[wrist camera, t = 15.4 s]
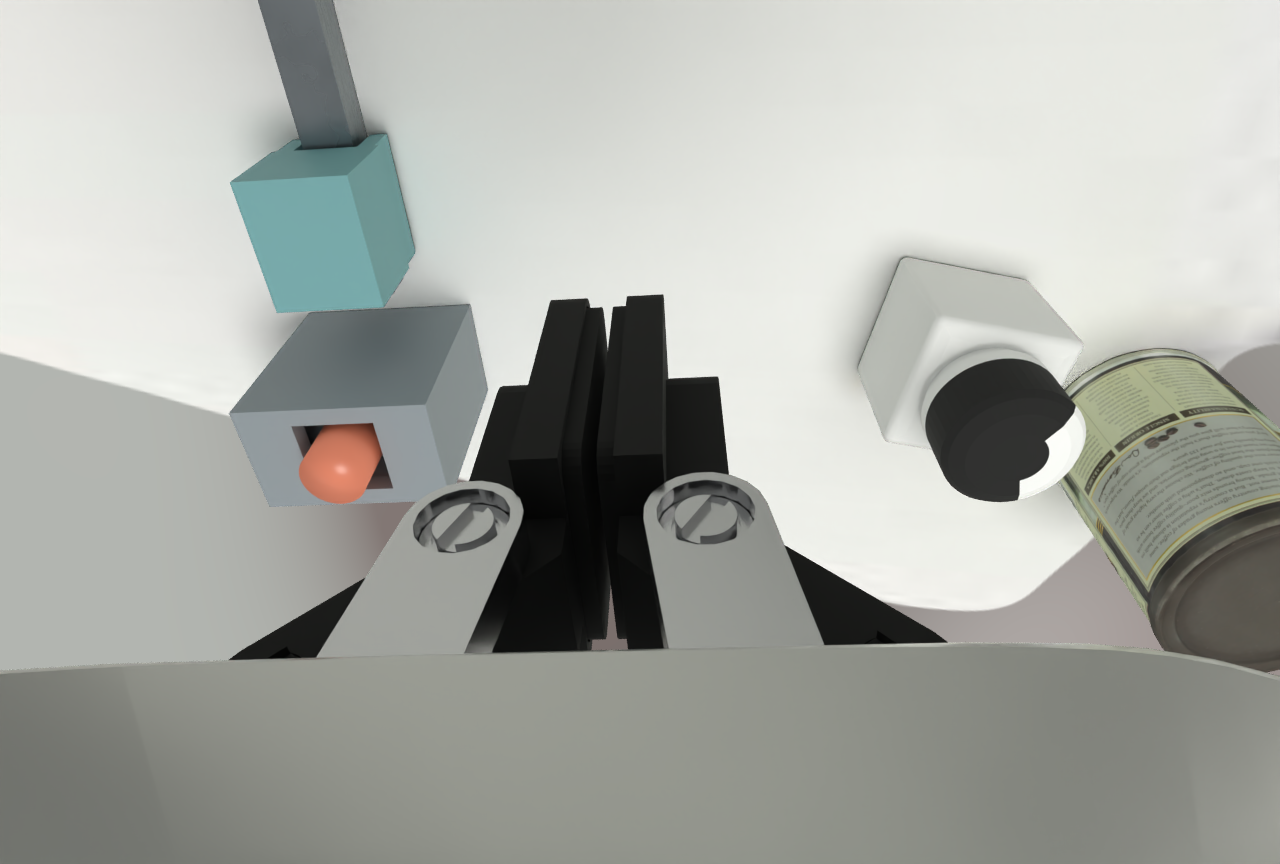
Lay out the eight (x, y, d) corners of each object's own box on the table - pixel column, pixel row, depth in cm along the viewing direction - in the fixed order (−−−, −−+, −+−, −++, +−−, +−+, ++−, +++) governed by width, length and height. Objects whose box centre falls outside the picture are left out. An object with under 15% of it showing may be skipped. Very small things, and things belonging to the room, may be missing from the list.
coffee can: (1267, 376, 45) (1475, 550, 33) (1146, 508, 51) (1288, 696, 39) (1110, 322, 43) (1272, 486, 32) (1003, 465, 49) (1108, 648, 38)
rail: (223, -190, 32) (199, -193, 30) (282, -195, 31) (261, -199, 30) (359, 280, 43) (347, 296, 41) (403, 278, 43) (392, 294, 41)
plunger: (327, 394, 39) (289, 452, 35) (387, 391, 39) (356, 450, 35) (344, 444, 41) (310, 504, 37) (401, 441, 41) (373, 502, 37)
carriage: (289, 140, 38) (229, 182, 33) (390, 133, 38) (347, 175, 33) (325, 257, 42) (276, 312, 37) (418, 252, 42) (383, 307, 36)
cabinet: (309, 313, 44) (228, 413, 36) (470, 304, 44) (425, 404, 35) (337, 396, 47) (269, 506, 39) (488, 390, 47) (450, 500, 39)
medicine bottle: (854, 370, 45) (906, 508, 36) (900, 253, 41) (974, 372, 32) (973, 391, 46) (1057, 532, 36) (1030, 278, 42) (1142, 403, 32)
